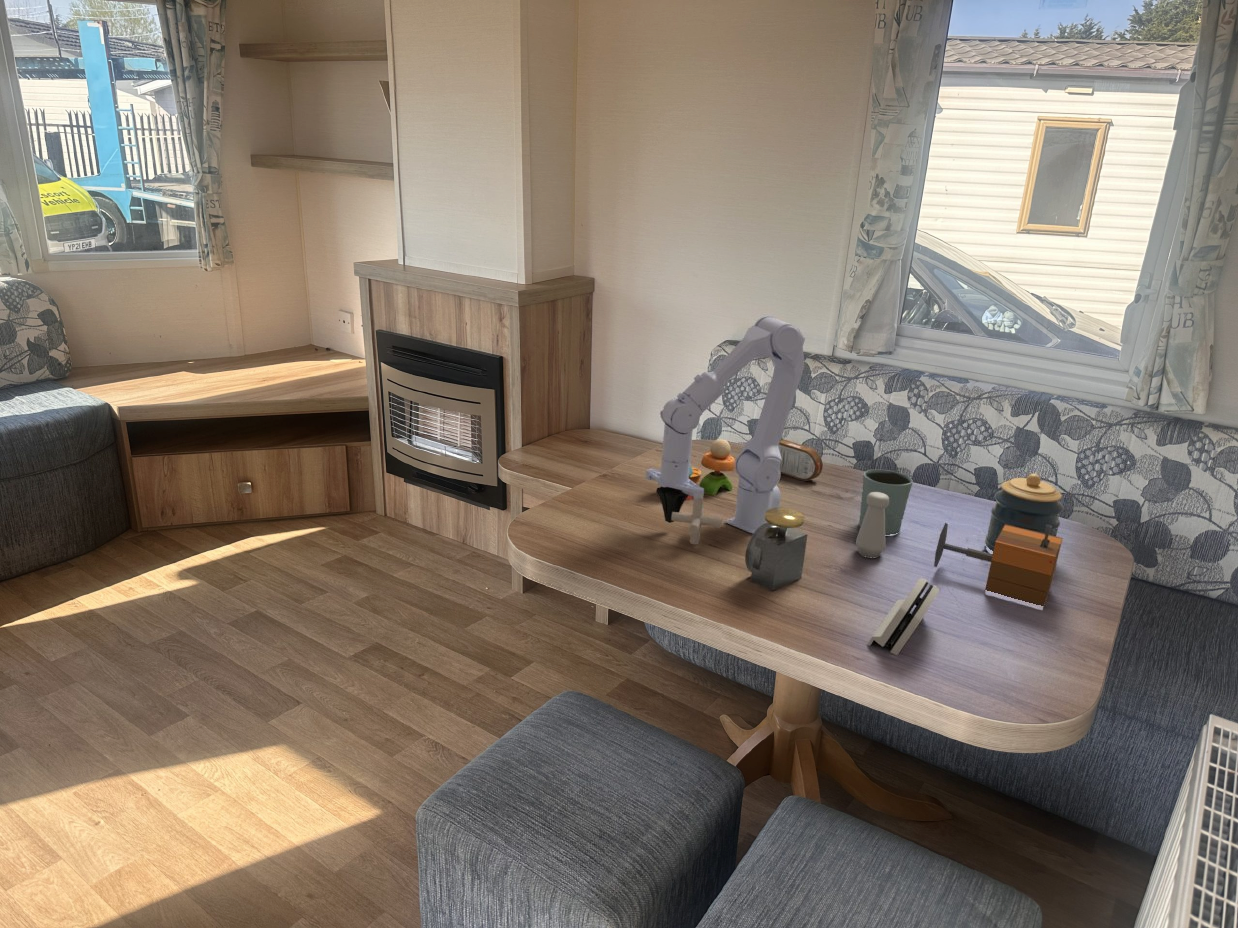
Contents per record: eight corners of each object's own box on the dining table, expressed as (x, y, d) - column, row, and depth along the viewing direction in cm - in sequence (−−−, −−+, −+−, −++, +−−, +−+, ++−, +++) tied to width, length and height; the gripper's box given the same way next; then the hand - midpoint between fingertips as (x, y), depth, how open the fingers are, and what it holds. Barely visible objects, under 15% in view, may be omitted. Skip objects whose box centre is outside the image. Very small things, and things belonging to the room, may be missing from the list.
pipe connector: (716, 556, 172) (721, 508, 169) (666, 549, 174) (670, 502, 171) (721, 536, 182) (726, 491, 178) (673, 529, 183) (677, 485, 180)
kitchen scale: (775, 564, 170) (783, 502, 166) (807, 578, 165) (816, 515, 161) (742, 578, 163) (750, 514, 159) (775, 594, 158) (783, 527, 154)
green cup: (852, 531, 188) (860, 479, 184) (858, 516, 197) (866, 465, 193) (901, 541, 185) (910, 488, 181) (905, 525, 194) (914, 473, 190)
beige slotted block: (893, 606, 157) (921, 563, 152) (917, 621, 155) (946, 579, 150) (866, 645, 143) (896, 600, 138) (891, 662, 141) (923, 617, 137)
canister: (1059, 555, 183) (1079, 476, 177) (1038, 573, 173) (1058, 490, 168) (997, 536, 191) (1013, 459, 185) (973, 552, 182) (990, 472, 176)
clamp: (942, 561, 177) (955, 495, 172) (1050, 590, 167) (1067, 520, 162) (929, 580, 168) (942, 510, 163) (1042, 611, 158) (1060, 538, 154)
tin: (820, 483, 217) (825, 450, 214) (814, 485, 215) (818, 453, 212) (770, 466, 226) (774, 435, 224) (763, 469, 224) (766, 437, 221)
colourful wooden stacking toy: (687, 470, 220) (691, 423, 216) (739, 491, 208) (745, 441, 204) (634, 484, 208) (638, 434, 204) (686, 507, 196) (691, 454, 192)
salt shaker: (886, 552, 179) (896, 492, 175) (881, 562, 174) (892, 501, 170) (857, 545, 181) (866, 486, 177) (851, 555, 176) (861, 495, 172)
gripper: (636, 452, 180) (632, 514, 184) (689, 472, 170) (683, 537, 174) (660, 446, 184) (656, 506, 189) (713, 465, 174) (706, 528, 179)
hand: (670, 520), depth 182 cm, fingers closed
